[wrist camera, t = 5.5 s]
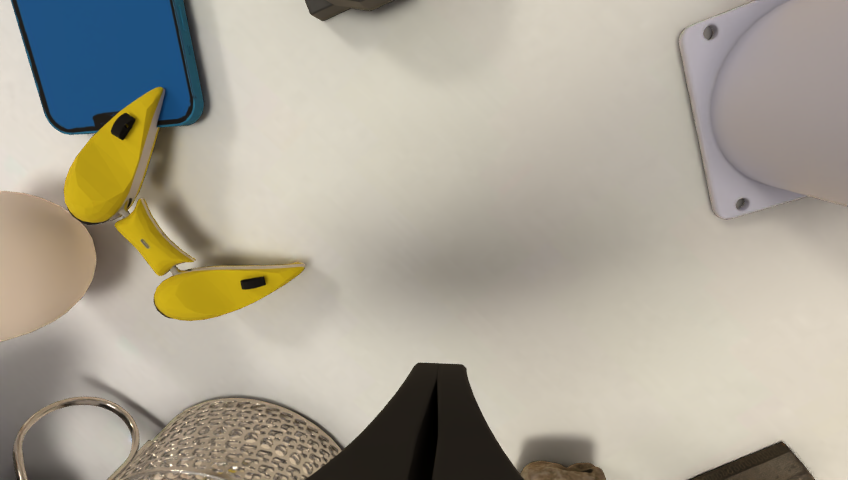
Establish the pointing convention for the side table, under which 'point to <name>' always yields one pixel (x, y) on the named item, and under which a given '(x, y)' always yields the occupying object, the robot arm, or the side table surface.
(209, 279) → the yellow curved piece
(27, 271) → the egg
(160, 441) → the silver candle holder
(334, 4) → the push button box
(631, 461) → the side table surface
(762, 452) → the block
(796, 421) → the side table surface
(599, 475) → the sculpture
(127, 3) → the smartphone
